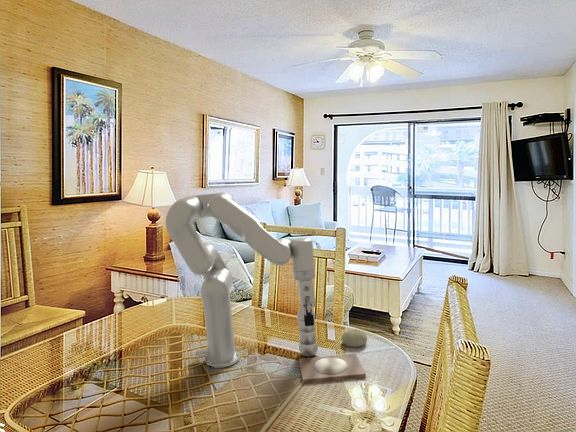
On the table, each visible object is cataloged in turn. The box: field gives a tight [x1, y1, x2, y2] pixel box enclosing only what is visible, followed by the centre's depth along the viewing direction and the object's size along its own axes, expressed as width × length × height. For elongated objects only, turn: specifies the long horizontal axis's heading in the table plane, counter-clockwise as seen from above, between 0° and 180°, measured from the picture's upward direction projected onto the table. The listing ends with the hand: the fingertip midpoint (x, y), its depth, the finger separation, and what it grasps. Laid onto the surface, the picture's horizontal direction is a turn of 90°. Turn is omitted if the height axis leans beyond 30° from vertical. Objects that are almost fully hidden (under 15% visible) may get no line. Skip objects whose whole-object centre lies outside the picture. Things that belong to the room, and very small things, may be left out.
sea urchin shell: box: [341, 328, 368, 348], centre depth 157 cm, size 9×8×8 cm
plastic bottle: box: [296, 299, 319, 357], centre depth 149 cm, size 6×7×20 cm
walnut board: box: [298, 353, 367, 384], centre depth 139 cm, size 20×14×1 cm
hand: (307, 320), depth 149 cm, fingers open, 9 cm apart
